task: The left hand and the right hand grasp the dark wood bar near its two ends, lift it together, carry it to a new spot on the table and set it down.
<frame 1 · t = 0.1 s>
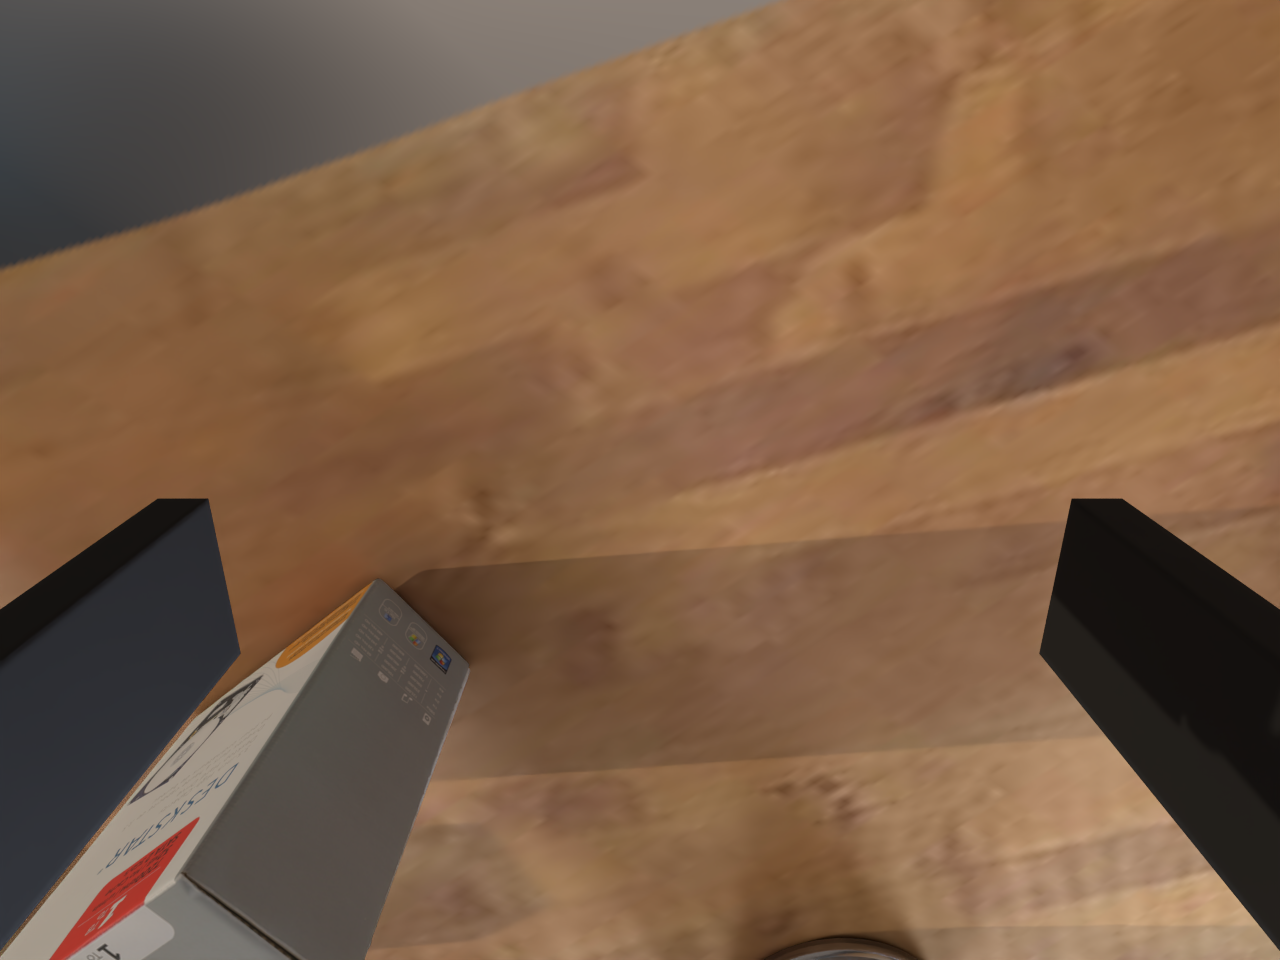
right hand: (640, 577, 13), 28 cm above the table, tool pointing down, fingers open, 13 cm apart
hard drive box: (331, 689, 47), on the table
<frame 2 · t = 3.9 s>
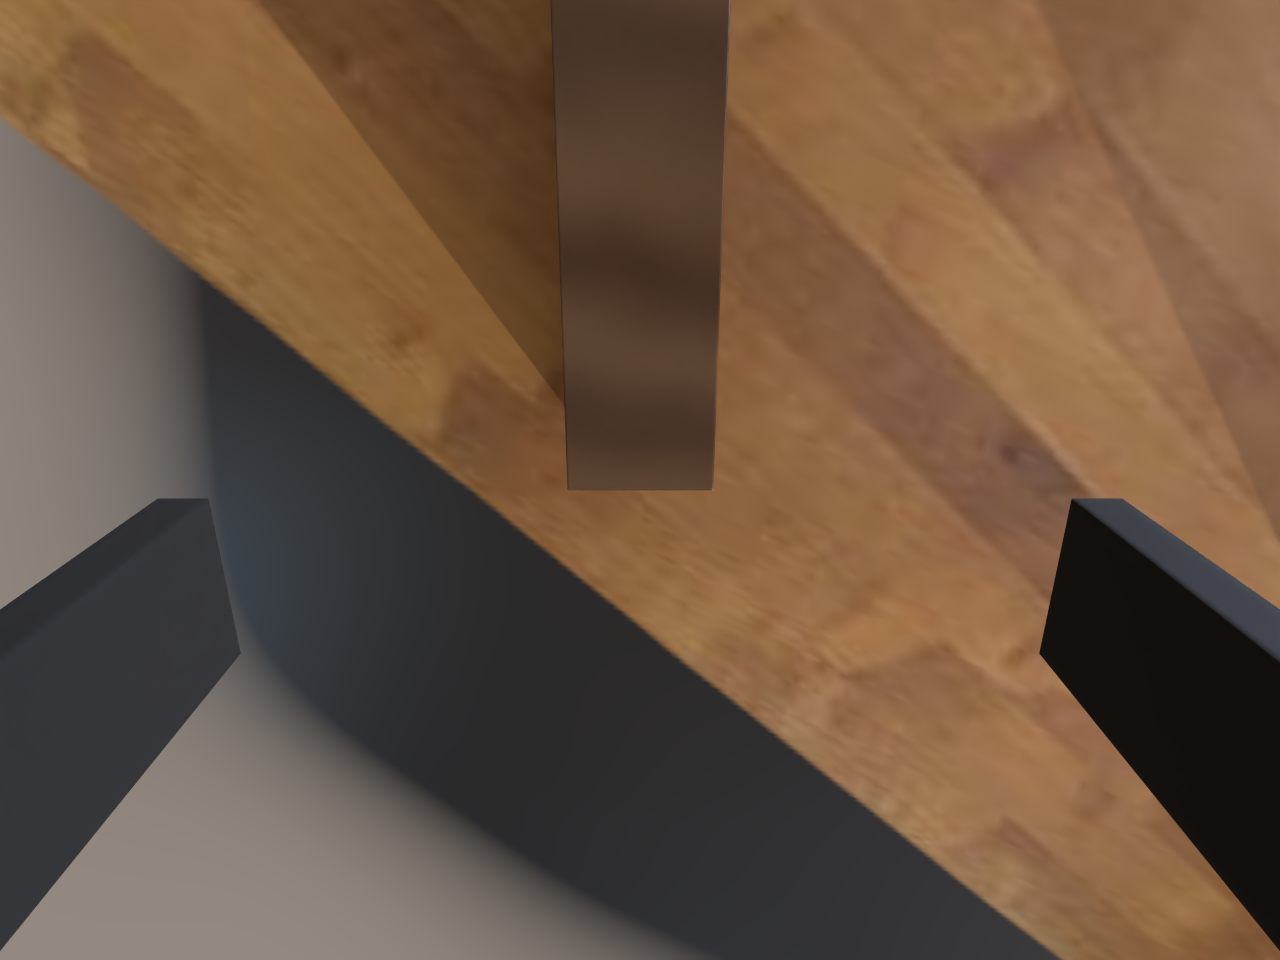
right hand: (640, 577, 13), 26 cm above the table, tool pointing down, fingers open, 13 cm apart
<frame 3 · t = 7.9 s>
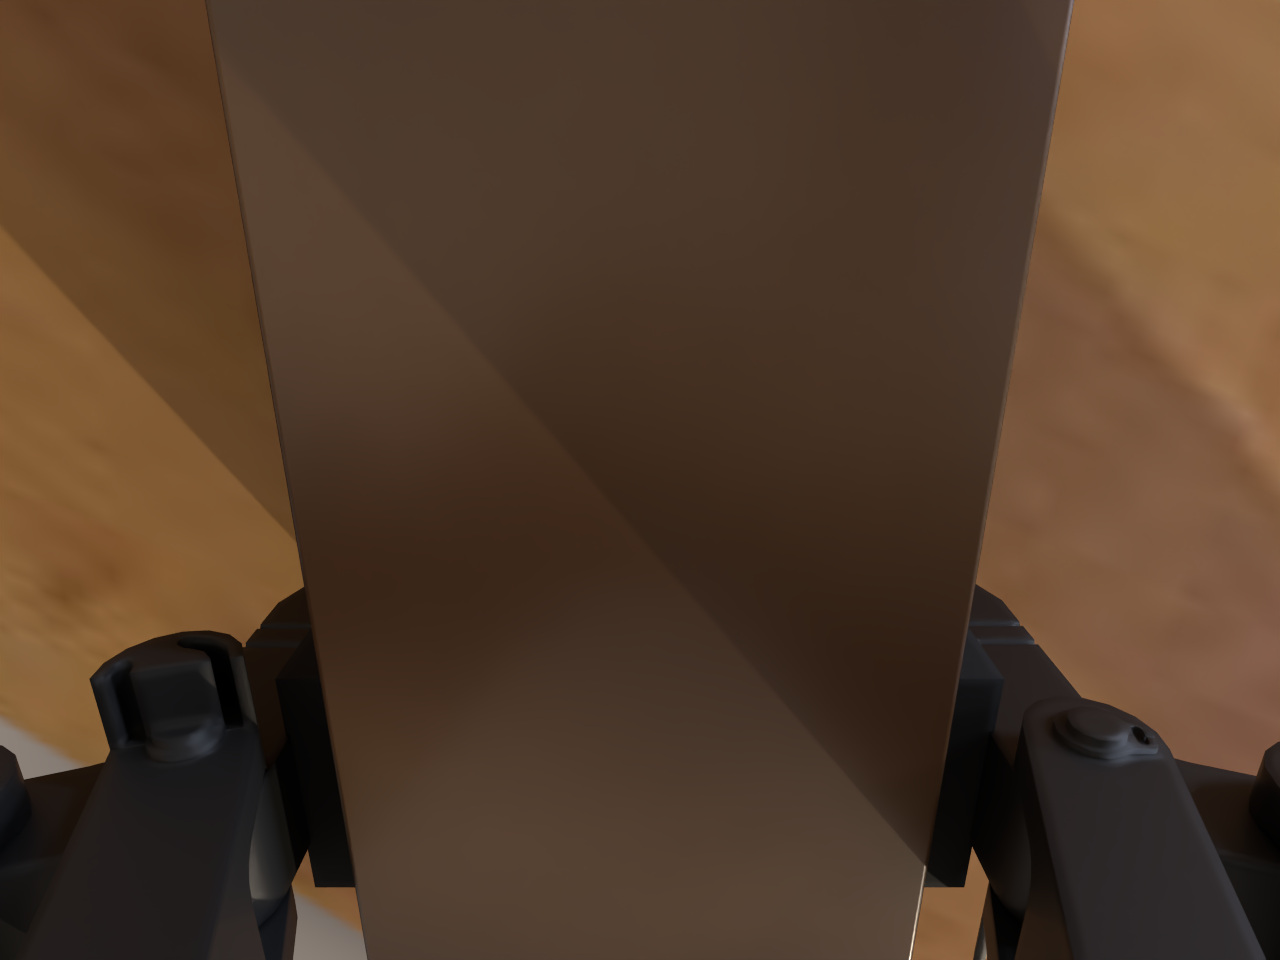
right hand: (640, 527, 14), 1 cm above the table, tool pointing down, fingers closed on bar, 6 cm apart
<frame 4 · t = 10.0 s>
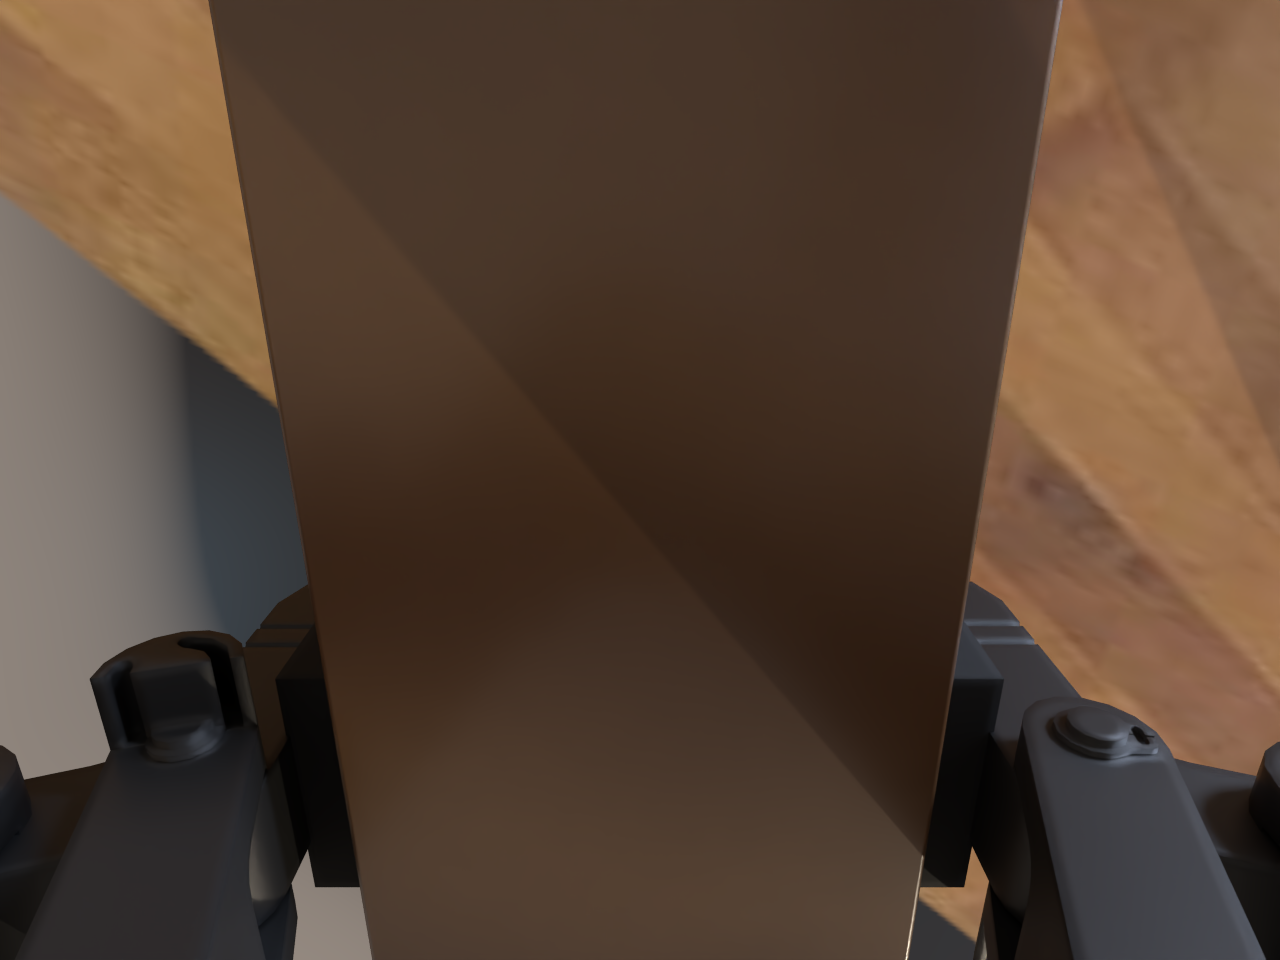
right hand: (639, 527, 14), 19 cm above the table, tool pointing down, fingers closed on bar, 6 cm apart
when the right hand's fingers open (2 cm above the table, at t = 16.3 s): bar drops 1 cm, on the table.
when the left hand's fingers open (4 cm above the table, at t = 16.5 s): bar stays where it is, on the table.
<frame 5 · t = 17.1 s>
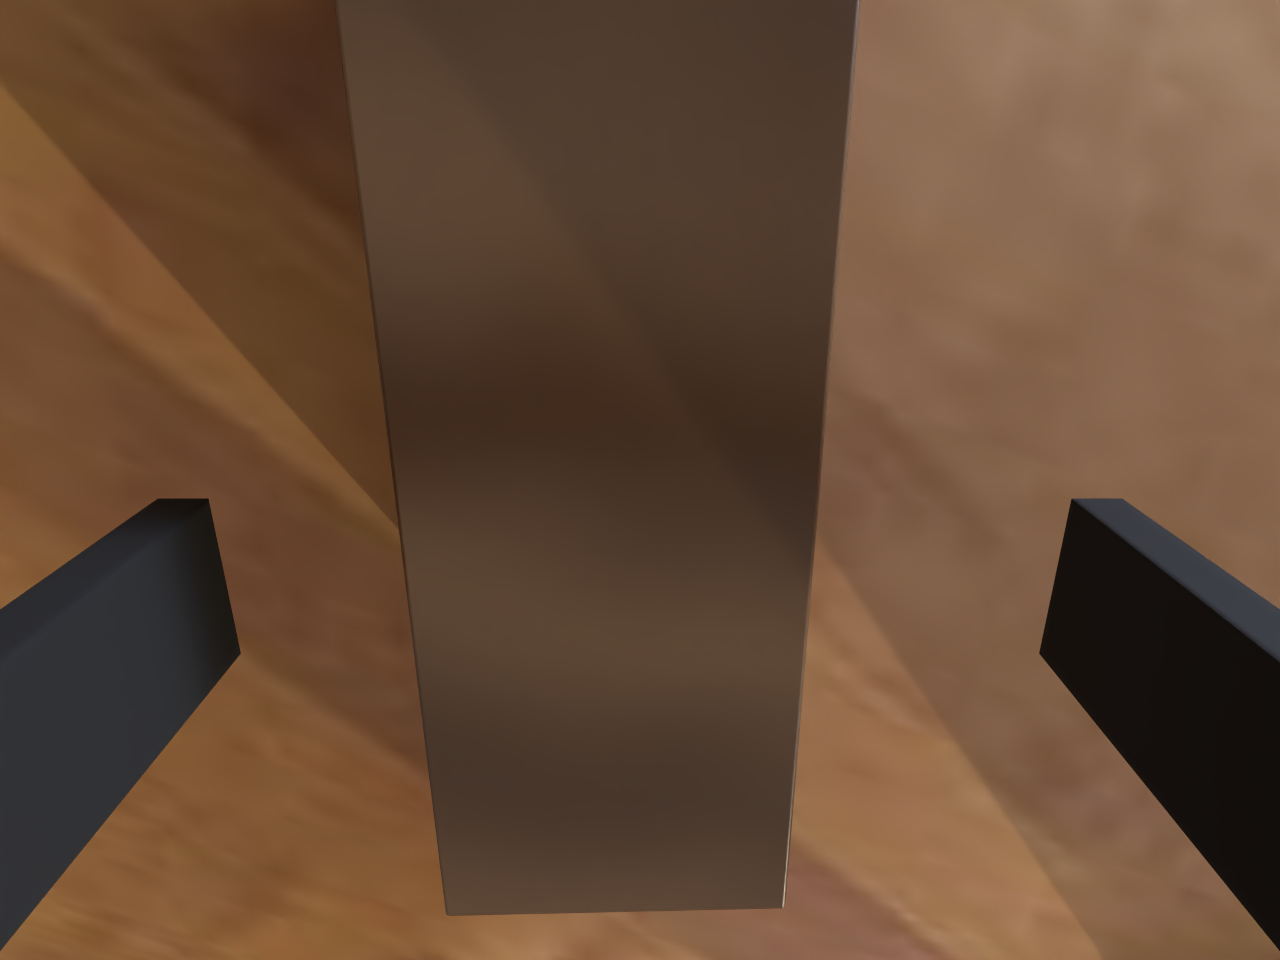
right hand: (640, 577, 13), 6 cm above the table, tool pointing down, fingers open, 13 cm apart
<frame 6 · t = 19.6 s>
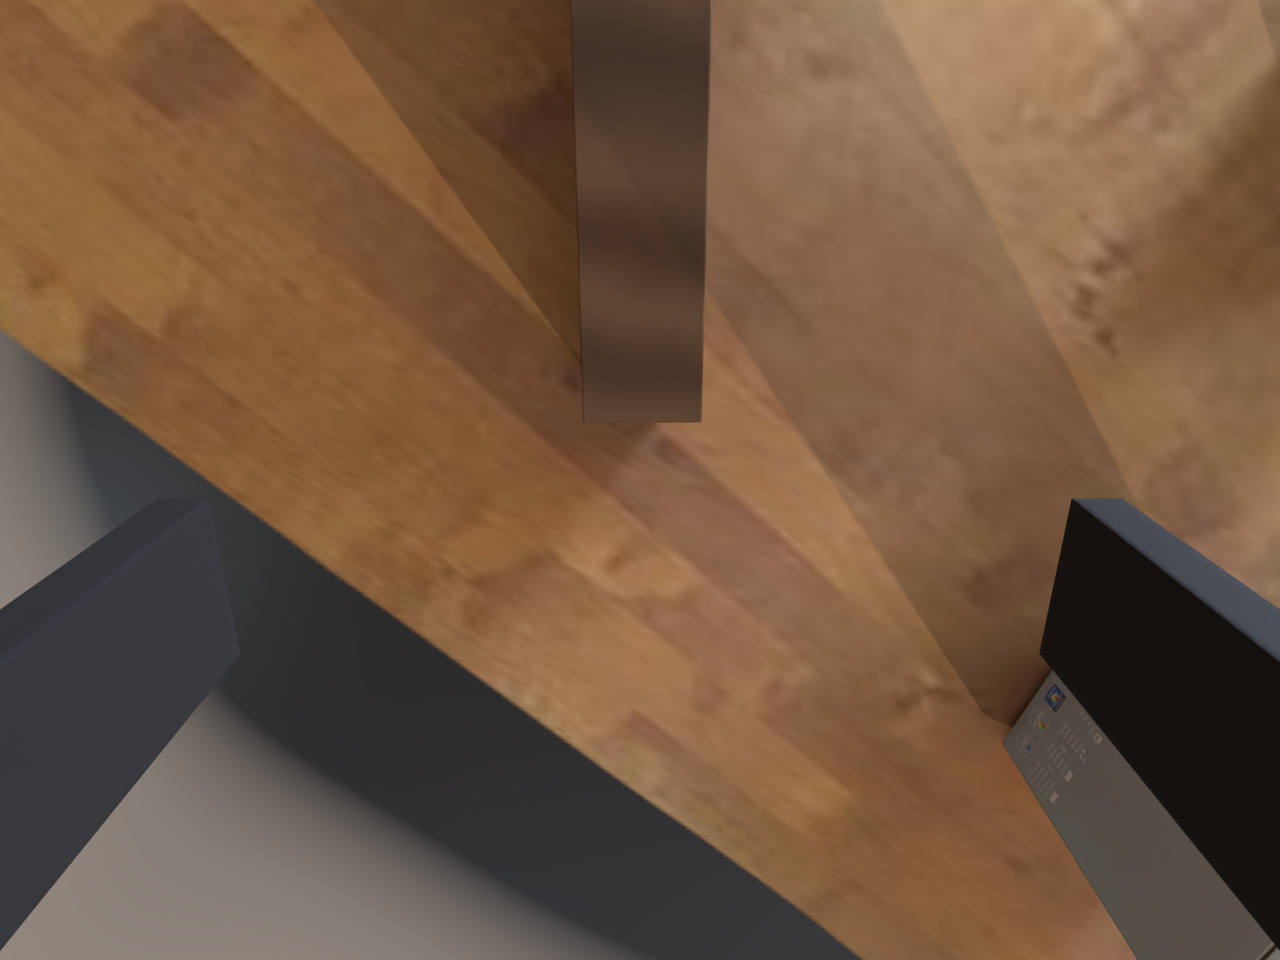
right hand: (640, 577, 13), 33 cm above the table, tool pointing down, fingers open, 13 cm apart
hard drive box: (1125, 733, 55), on the table
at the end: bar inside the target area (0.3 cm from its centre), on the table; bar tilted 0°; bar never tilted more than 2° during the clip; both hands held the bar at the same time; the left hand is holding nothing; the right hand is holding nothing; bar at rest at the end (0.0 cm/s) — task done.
